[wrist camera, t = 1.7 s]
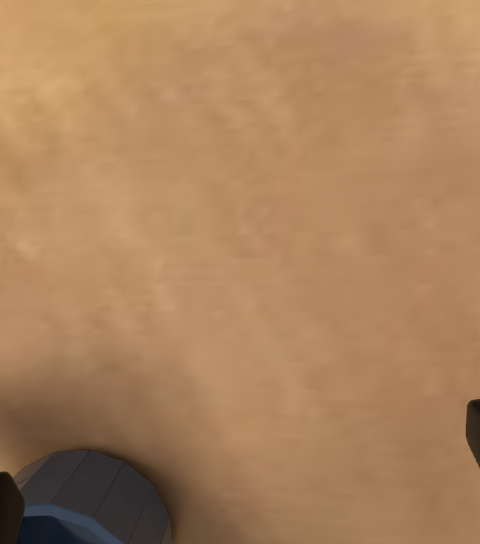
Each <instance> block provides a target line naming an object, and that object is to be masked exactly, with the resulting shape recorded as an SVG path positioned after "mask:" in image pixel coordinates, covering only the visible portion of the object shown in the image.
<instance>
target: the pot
mask: <svg viewBox="0 0 480 544" xmlns="http://www.w3.org/2000/svg"><path fill="white" fill-rule="evenodd" d="M13 480H14V481H15V483H16V485H17V486H18V488H19V490H20V492H21V493H22V495H23V497H24V500H25V511H24V515H23V519H22V522H21V526H20V530H19V533H18V537H17V541H16V544H173V542H172V532H171V523H170V516H169V513H168V511H167V509H166V508H165V506H164V504H163V502H162V500H161V499H160V497H159V495H158V493H157V491H156V490H155V488H154V486H153V485H152V483H150V482H149V481H148V480H147V479H146V478H144V477H143V476H142V475H141V474H139V473H138V472H137V471H136V470H135V469H133V468H132V467H131V466H130V465H128V464H127V463H126V462H124V461H122V460H119V459H116V458H112V457H109V456H106V455H103V454H100V453H97V452H94V451H90V450H81V451H63V452H55V453H52V454H50V455H48V456H46V457H44V458H42V459H40V460H38V461H36V462H33V463H31V464H29V465H27V466H25V467H24V468H22V469H21V471H20V472H19V473H18V474H17V475H16V476H15V477H14V478H13Z"/></svg>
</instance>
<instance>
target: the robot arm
mask: <svg viewBox="0 0 480 544" xmlns="http://www.w3.org/2000/svg"><path fill="white" fill-rule="evenodd" d="M466 438H467V442H468V445H469V447H470V449H471V451H472V453H473V455H474V457H475V459H476V461H477V463H478V465H479V468H480V399H476V400H471V401H470V402H469V403H468V405H467V418H466ZM24 511H25V500H24V497H23V495H22V493H21V492H20V490H19V488H18V486H17V485H16V483H15V481H14V480H13V478H12V476H11V475H10V474H9V473H8V472H4V471H3V472H0V544H16V541H17V537H18V533H19V530H20V526H21V522H22V519H23V515H24Z"/></svg>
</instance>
